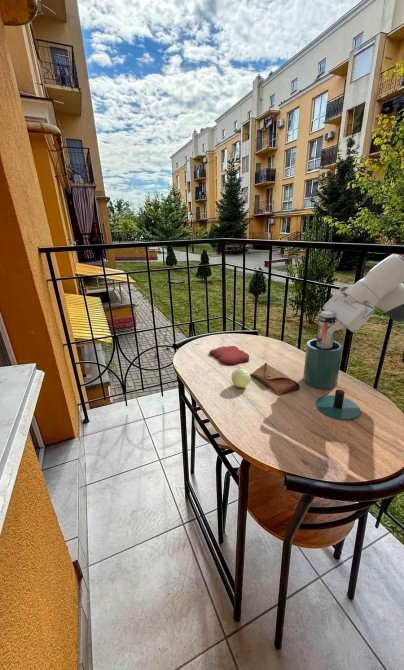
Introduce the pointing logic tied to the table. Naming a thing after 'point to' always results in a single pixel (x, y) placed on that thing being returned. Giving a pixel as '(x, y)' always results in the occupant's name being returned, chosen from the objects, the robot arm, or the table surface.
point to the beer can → (324, 322)
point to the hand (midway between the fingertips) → (324, 328)
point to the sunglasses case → (275, 380)
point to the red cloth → (230, 355)
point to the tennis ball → (241, 378)
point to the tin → (322, 365)
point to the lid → (338, 406)
